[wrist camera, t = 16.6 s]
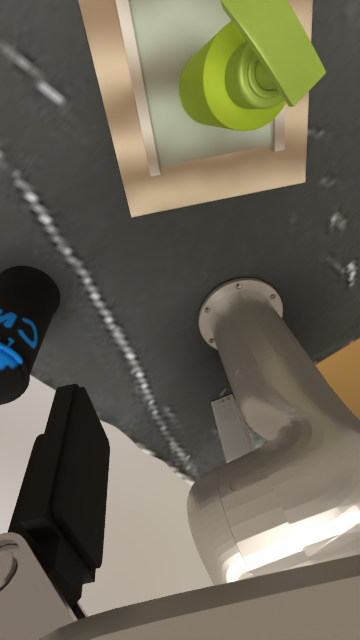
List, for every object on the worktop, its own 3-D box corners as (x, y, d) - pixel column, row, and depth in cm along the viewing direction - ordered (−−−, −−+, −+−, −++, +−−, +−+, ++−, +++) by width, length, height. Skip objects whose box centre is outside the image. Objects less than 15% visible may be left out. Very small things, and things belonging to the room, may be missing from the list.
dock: (294, 177, 40) (311, 184, 36) (131, 210, 40) (131, 221, 36) (300, -64, 29) (325, -90, 25) (75, -21, 29) (67, -40, 25)
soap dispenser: (203, 20, 29) (300, -107, 12) (252, 88, 32) (383, 63, 15) (157, 79, 31) (185, 40, 14) (207, 138, 34) (280, 165, 17)
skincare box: (209, 401, 59) (225, 461, 49) (232, 392, 58) (252, 451, 48) (221, 421, 62) (238, 481, 52) (242, 413, 62) (263, 472, 51)
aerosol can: (49, 328, 47) (2, 449, 30) (-13, 307, 44) (-102, 428, 27) (68, 281, 44) (28, 388, 27) (2, 255, 41) (-89, 356, 24)
